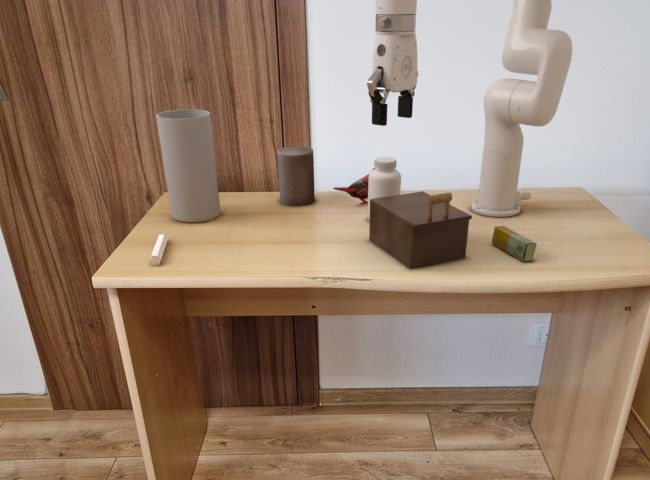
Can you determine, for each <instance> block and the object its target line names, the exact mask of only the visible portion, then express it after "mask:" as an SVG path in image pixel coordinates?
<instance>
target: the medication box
mask: <svg viewBox="0 0 650 480" xmlns="http://www.w3.org/2000/svg"><path fill="white" fill-rule="evenodd" d="M490 243H491V244H493V245H495V246H496V247H498V248H500V249H502V250H503V251H504V252H507V253H508V254H510V255H512V256H513V257H515V258H517V259H519V260H520V261H521V262H523V263H524V262H525V263H528V262H533V259H534V256H535V252H536V249H537V245H538V243H537V242H535V241H533V240H531V239H529V238H527V237H525V236H523V235H521V234H520V233H518V232H516V231H514V230H512V229H510V228H509V227H507V226H505V225H502V226H501V225H495V226H494V229H493V233H492V237H491V241H490Z"/></svg>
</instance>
